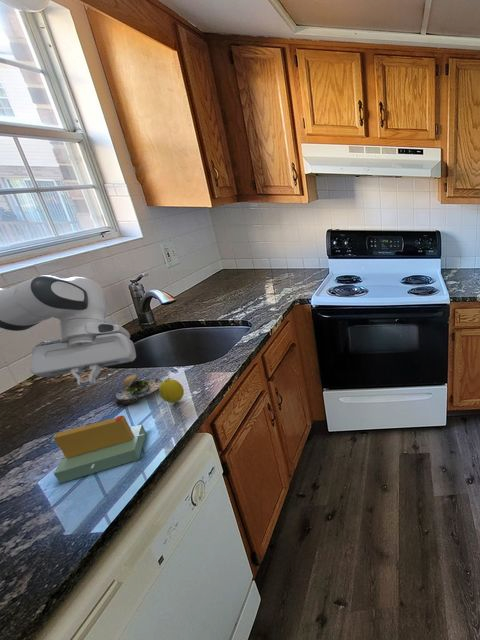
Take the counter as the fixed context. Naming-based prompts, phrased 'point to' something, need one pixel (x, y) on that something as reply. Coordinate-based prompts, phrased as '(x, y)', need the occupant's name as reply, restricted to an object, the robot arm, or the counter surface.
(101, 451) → the panel
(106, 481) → the counter surface
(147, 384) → the plate of food
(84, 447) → the mustard yellow rectangular block
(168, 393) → the lemon
